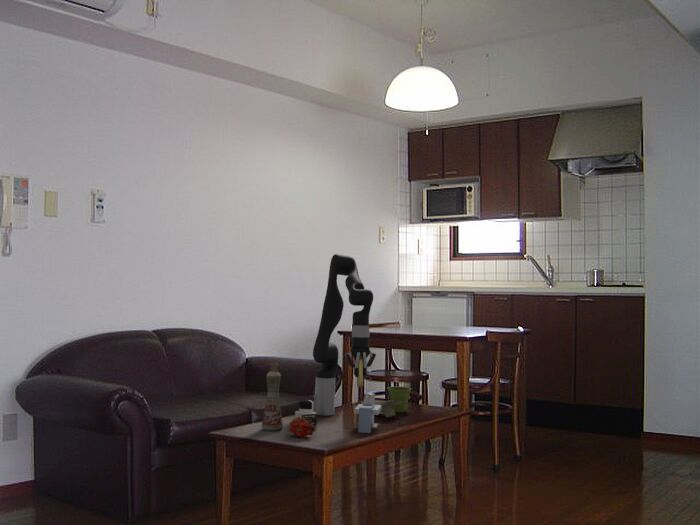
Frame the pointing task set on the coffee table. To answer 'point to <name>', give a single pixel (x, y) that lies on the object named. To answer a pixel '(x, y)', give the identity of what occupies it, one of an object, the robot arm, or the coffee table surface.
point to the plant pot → (399, 397)
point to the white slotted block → (389, 408)
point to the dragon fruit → (301, 427)
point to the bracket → (365, 418)
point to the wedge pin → (360, 372)
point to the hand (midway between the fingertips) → (360, 376)
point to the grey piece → (375, 411)
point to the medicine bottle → (307, 412)
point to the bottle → (272, 401)
